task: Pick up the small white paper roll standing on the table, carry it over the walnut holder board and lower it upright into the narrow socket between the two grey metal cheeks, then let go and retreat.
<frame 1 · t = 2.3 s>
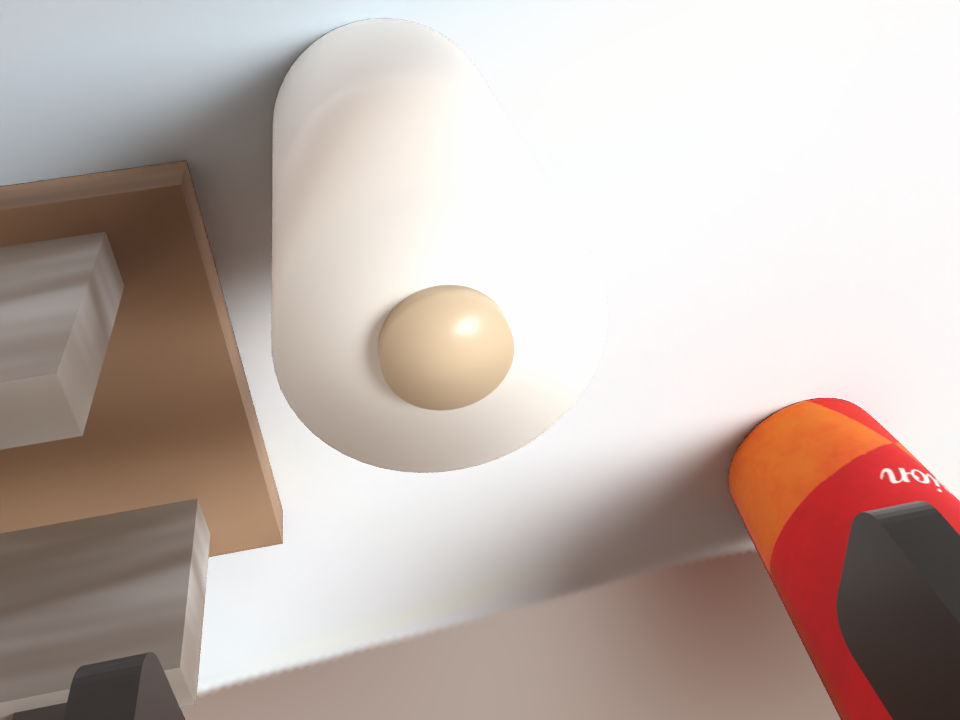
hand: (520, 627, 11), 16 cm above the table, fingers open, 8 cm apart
paper cup: (798, 455, 33), on the table
holder: (60, 387, 26), on the table
roll: (385, 132, 23), on the table
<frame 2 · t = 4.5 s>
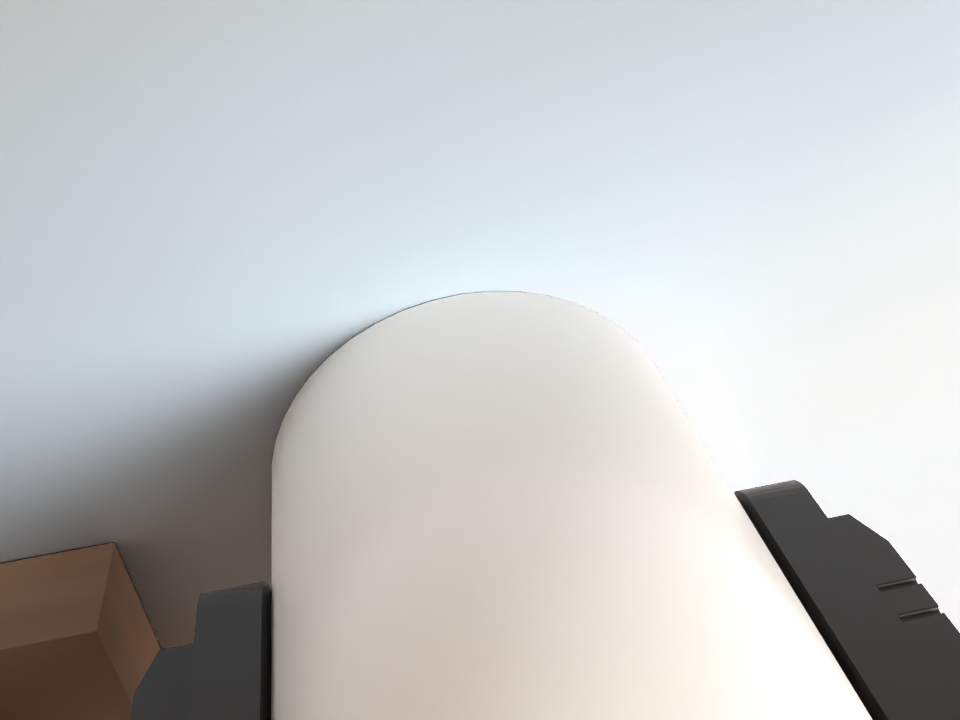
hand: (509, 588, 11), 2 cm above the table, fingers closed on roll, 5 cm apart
roll: (478, 468, 13), on the table, touching gripper
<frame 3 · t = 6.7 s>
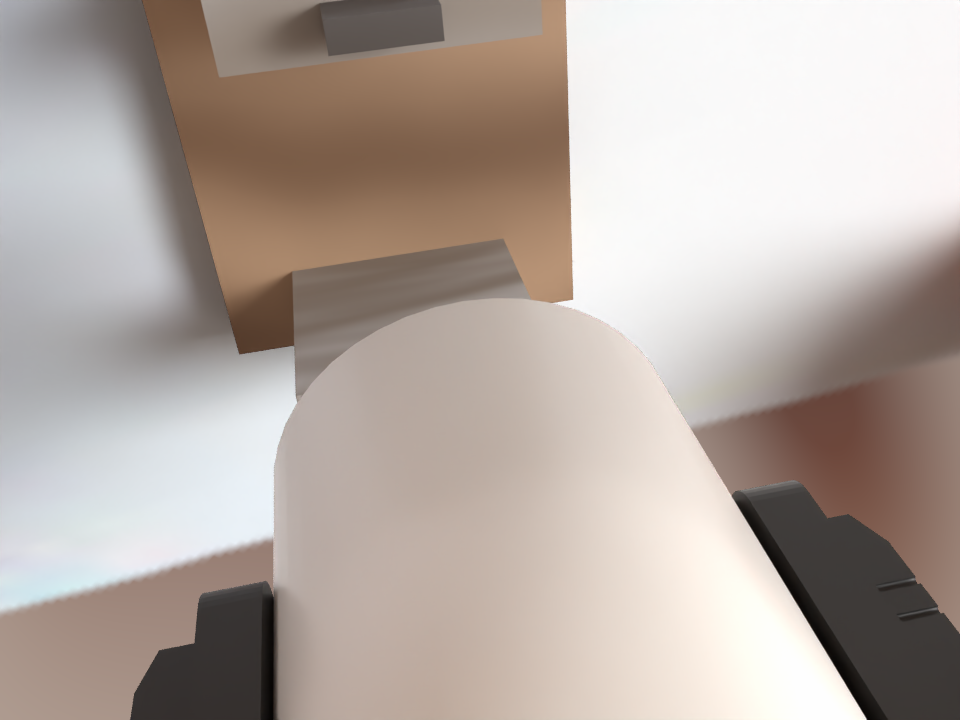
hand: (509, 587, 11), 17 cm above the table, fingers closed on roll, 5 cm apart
holder: (376, 112, 25), on the table
roll: (479, 473, 13), point 15 cm above the table, touching gripper
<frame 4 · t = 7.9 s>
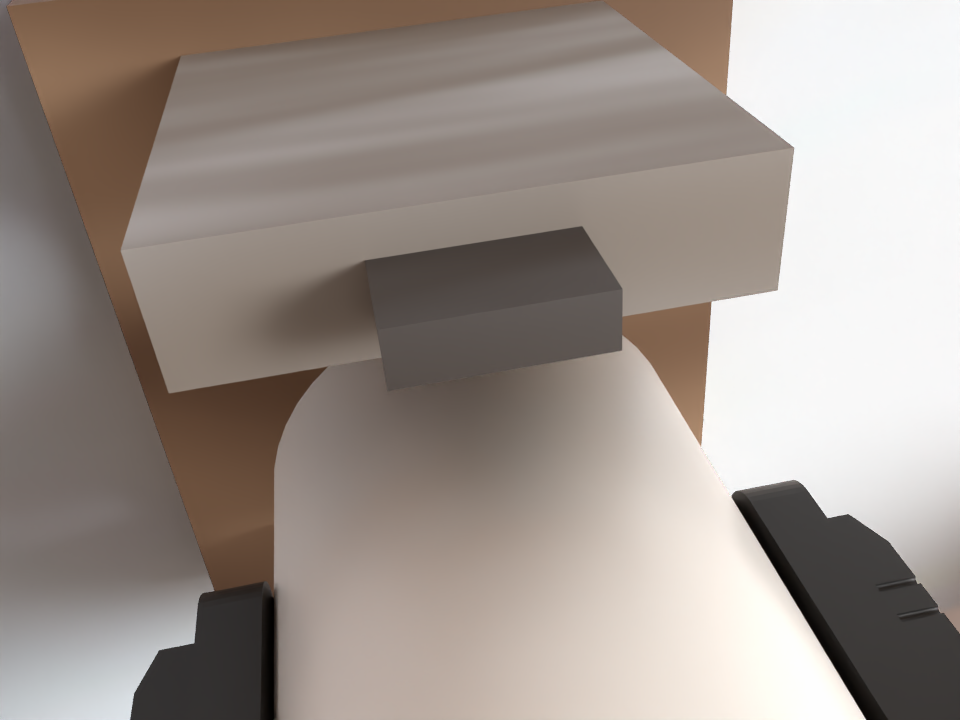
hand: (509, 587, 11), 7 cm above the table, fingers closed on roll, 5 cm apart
holder: (424, 289, 17), on the table
roll: (479, 474, 13), point 5 cm above the table, touching gripper
when the fingers open (4 cm above the table, at t = 9.0 s): roll stays where it is, resting on holder.
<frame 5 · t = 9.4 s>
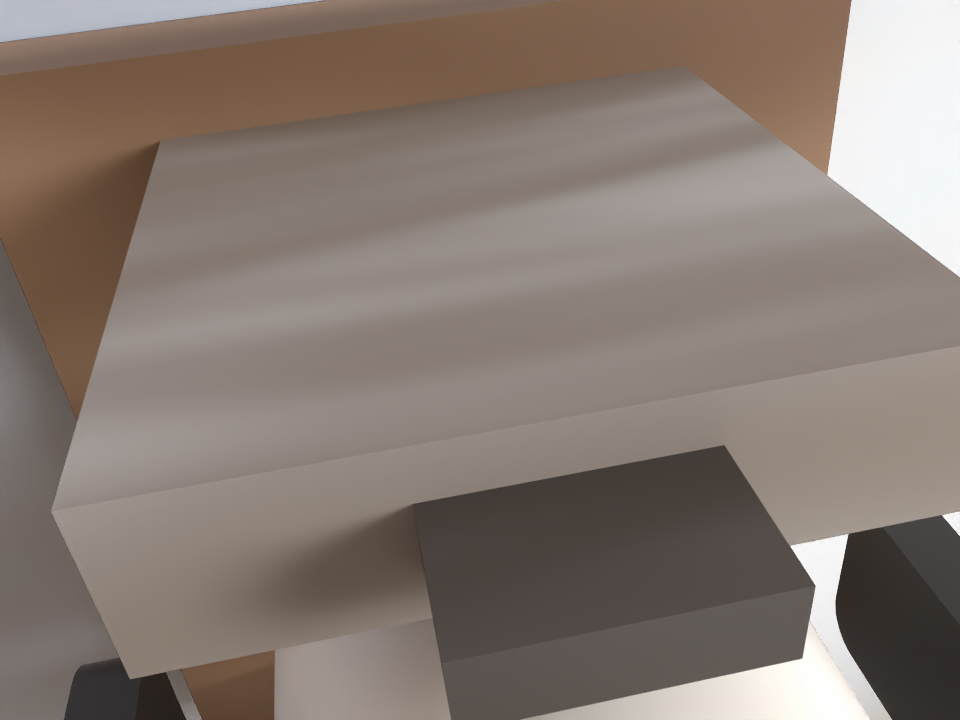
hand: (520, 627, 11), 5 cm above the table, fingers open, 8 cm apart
holder: (453, 389, 14), on the table
roll: (475, 447, 13), point 2 cm above the table, touching holder
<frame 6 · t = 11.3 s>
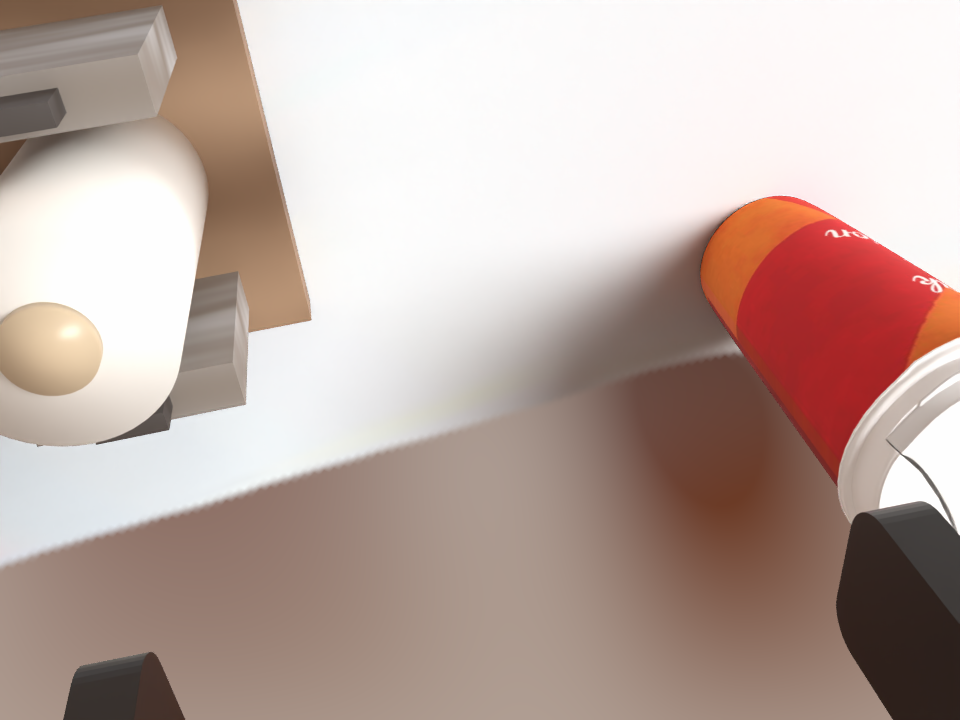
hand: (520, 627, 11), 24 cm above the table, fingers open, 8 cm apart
paper cup: (762, 256, 37), on the table
holder: (120, 171, 30), on the table
roll: (116, 187, 29), point 2 cm above the table, touching holder
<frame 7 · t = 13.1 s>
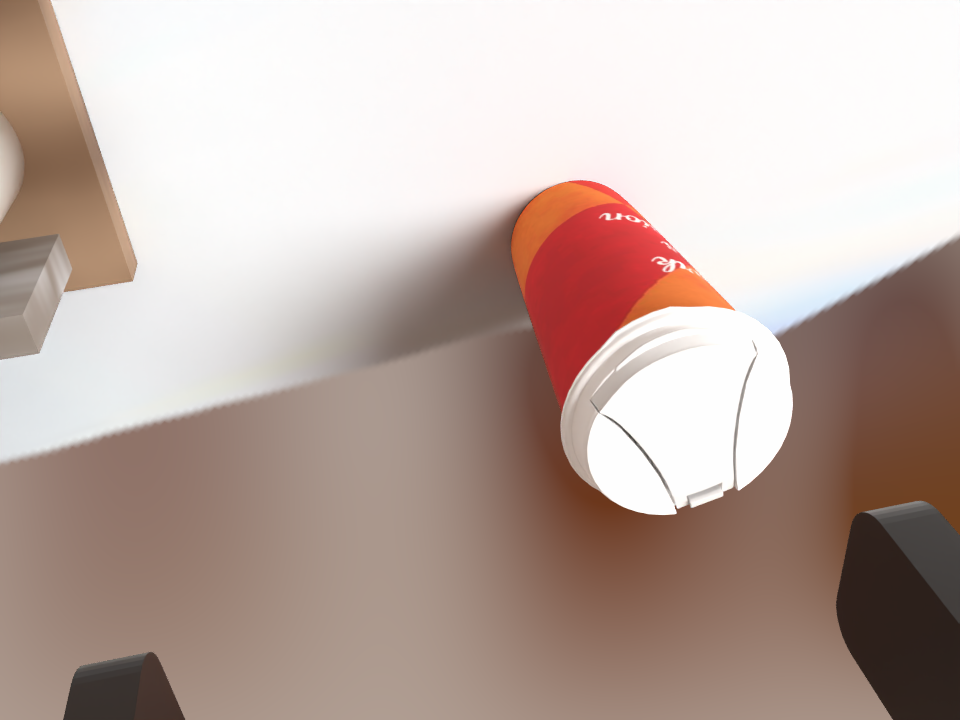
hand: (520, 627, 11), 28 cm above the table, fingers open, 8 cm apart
paper cup: (570, 236, 40), on the table
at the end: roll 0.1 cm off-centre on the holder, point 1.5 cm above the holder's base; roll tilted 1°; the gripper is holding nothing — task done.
